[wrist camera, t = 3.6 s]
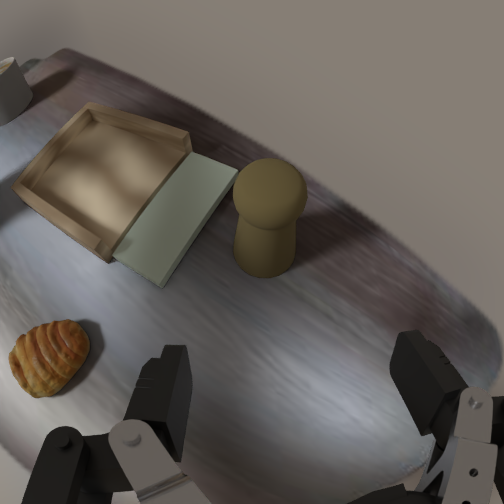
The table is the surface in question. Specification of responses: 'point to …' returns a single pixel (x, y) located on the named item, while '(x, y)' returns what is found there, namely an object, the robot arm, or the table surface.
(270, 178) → the cork
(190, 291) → the table surface
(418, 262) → the table surface
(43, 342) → the pastry
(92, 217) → the tray
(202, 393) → the table surface
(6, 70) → the coffee mug
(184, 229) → the panel
